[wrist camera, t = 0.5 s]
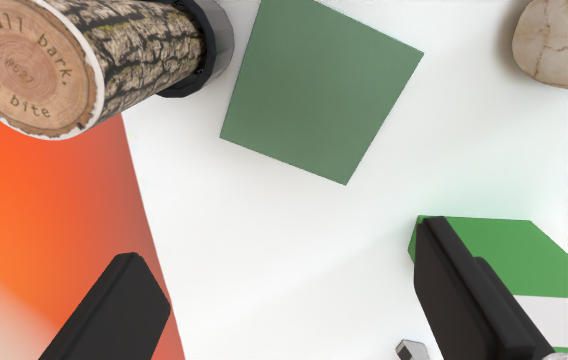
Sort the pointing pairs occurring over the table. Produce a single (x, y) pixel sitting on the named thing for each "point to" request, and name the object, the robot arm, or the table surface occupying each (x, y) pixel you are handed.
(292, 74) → the mat
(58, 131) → the paper tube
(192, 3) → the pen pot
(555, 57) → the coin bank
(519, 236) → the hardback book
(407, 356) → the vintage mobile phone
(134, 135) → the table surface
